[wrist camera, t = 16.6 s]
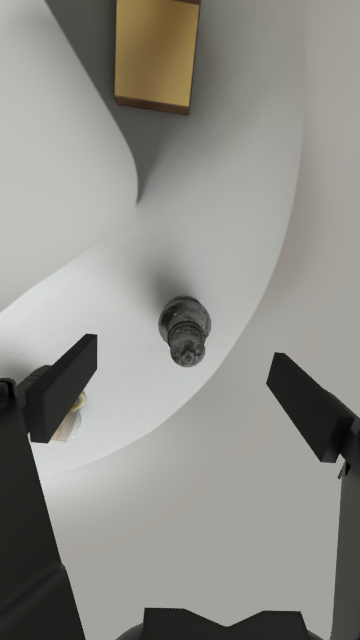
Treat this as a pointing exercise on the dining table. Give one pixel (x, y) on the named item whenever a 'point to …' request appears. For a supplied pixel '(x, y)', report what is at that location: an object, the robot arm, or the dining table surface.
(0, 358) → the dining table surface
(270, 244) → the dining table surface
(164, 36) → the strip board
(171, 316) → the grey chess piece
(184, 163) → the dining table surface
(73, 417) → the mug
